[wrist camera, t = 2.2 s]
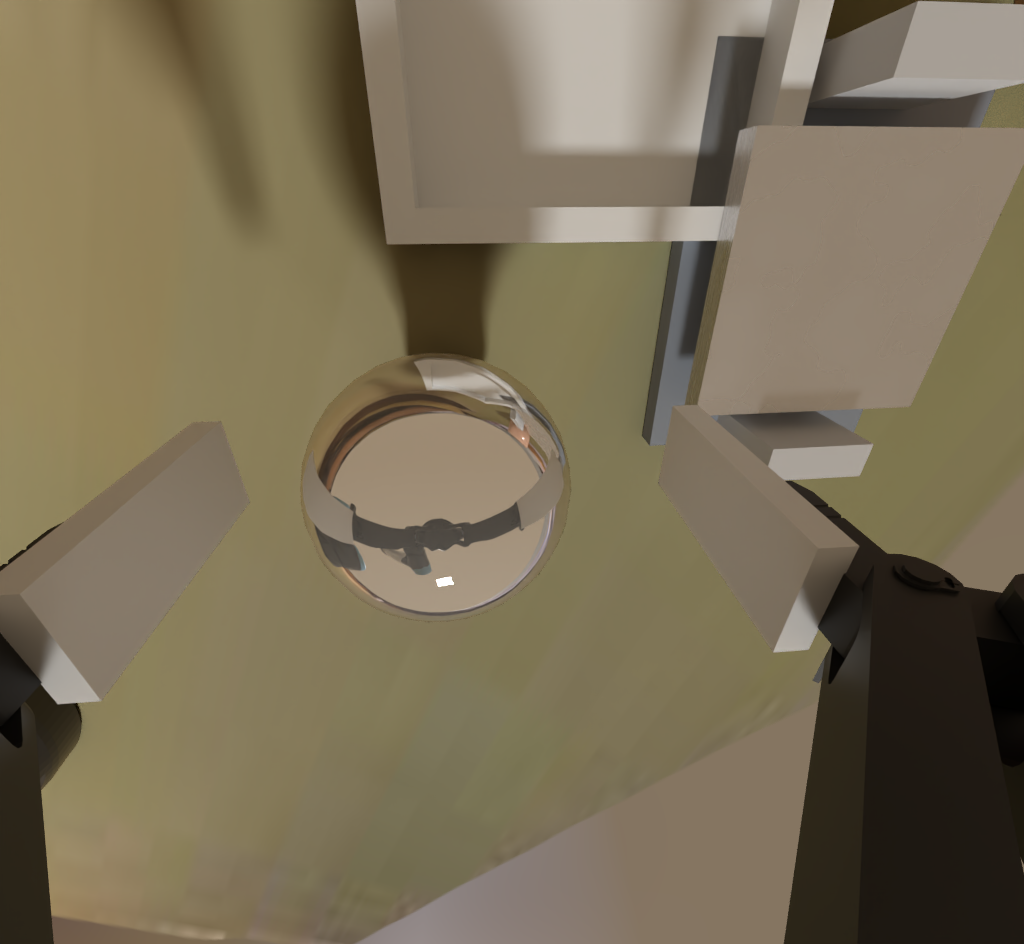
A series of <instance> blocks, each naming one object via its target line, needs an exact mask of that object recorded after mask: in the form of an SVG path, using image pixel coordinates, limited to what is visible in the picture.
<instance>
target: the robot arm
mask: <svg viewBox="0 0 1024 944" xmlns="http://www.w3.org/2000/svg"><path fill="white" fill-rule="evenodd" d="M658 484H659V485H660V487H661V488H662V490H663V491H664V493H665V494H666V496H667V497H668V498H669V500H670V501H671V503H672V504H673V506H674V507H675V509H676V510H677V512H678V513H679V515H680V516H681V518H682V519H683V521H684V522H685V523H686V525H687V526H688V528H689V529H690V531H691V532H692V534H693V535H694V537H695V538H696V540H697V541H698V543H699V544H700V546H701V547H702V548H703V550H704V551H705V553H706V554H707V556H708V557H709V559H710V560H711V562H712V563H713V565H714V566H715V568H716V569H717V571H718V572H719V574H720V575H721V576H722V578H723V579H724V581H725V582H726V584H727V585H728V587H729V588H730V590H731V591H732V593H733V594H734V596H735V597H736V599H737V600H738V601H739V603H740V604H741V606H742V607H743V609H744V610H745V612H746V613H747V615H748V616H749V618H750V619H751V621H752V622H753V624H754V625H755V626H756V628H757V629H758V631H759V632H760V634H761V635H762V637H763V638H764V640H765V641H766V643H767V644H768V646H769V647H770V649H771V650H772V652H784V651H798V650H809V648H810V645H811V643H812V641H813V639H814V637H815V635H816V633H817V631H818V629H819V630H820V631H821V632H822V633H823V634H824V636H825V637H826V638H827V639H828V640H829V642H830V643H831V646H830V648H829V650H828V652H827V654H826V656H825V658H824V660H823V661H822V663H821V665H820V667H819V669H818V671H817V673H816V675H815V677H814V679H813V681H815V682H817V683H819V682H820V680H821V679H822V682H821V689H820V696H819V703H818V711H817V717H816V724H815V731H814V738H813V745H812V752H811V759H810V766H809V772H808V780H807V786H806V793H805V800H804V808H803V815H802V821H801V828H800V836H799V842H798V849H797V856H796V863H795V870H794V877H793V884H792V892H791V898H790V905H789V912H788V919H787V926H786V933H785V940H784V944H1024V872H1023V867H1022V863H1021V859H1022V861H1023V863H1024V574H1019V575H1015V577H1014V578H1013V579H1012V581H1011V582H1010V583H1009V585H1008V586H1007V587H1006V589H1005V590H1004V591H1003V593H999V592H993V591H987V590H980V589H974V588H968V587H964V586H963V584H962V583H961V582H960V581H958V580H957V579H956V578H955V577H954V576H953V575H951V574H950V573H948V572H947V571H945V570H943V569H942V568H940V567H938V566H936V565H935V564H932V563H929V562H927V561H924V560H922V559H919V558H916V557H912V556H907V555H903V554H887V553H886V552H884V551H883V550H882V549H881V548H880V547H878V546H877V545H876V544H875V543H874V542H872V541H871V540H870V539H869V538H868V537H866V536H865V535H864V534H863V533H862V532H860V531H859V530H858V529H857V528H856V527H854V526H853V525H852V524H851V523H850V522H848V521H847V520H846V519H845V518H841V515H840V514H839V513H838V512H836V511H835V510H834V509H833V508H832V507H828V504H827V503H826V502H824V501H823V500H822V499H821V498H820V497H818V496H817V495H816V494H815V493H814V492H812V491H810V490H808V489H806V488H804V487H802V486H800V485H798V484H796V483H794V482H793V481H784V480H783V479H782V478H781V477H780V476H778V475H777V474H776V473H775V472H774V471H773V470H772V469H770V468H769V467H768V466H767V465H766V464H765V463H763V462H762V461H761V460H760V459H759V458H758V457H757V456H755V455H754V454H753V453H752V452H751V451H750V450H749V449H747V448H746V447H745V446H744V445H743V444H742V443H741V442H739V441H738V440H737V439H736V438H735V437H734V436H733V435H731V434H730V433H729V432H728V431H727V430H726V429H724V428H723V427H722V426H721V425H720V424H719V423H718V422H716V421H715V420H714V419H713V418H712V417H711V416H710V415H708V414H707V413H706V412H705V411H704V410H703V409H702V408H700V407H699V406H698V405H681V406H673V408H672V413H671V418H670V424H669V429H668V434H667V440H666V445H665V450H664V456H663V461H662V466H661V472H660V477H659V482H658ZM249 503H250V501H249V498H248V495H247V493H246V490H245V487H244V484H243V481H242V479H241V476H240V473H239V470H238V468H237V465H236V462H235V459H234V456H233V454H232V451H231V448H230V445H229V442H228V440H227V437H226V434H225V431H224V428H223V426H222V423H221V421H218V422H193V423H191V424H190V425H189V426H187V427H186V428H185V429H184V430H182V431H181V432H180V433H178V434H177V435H176V436H174V437H173V438H172V439H171V440H169V441H168V442H167V443H165V444H164V445H163V446H162V447H160V448H159V449H158V450H156V451H155V452H154V453H153V454H151V455H150V456H149V457H147V458H146V459H145V460H144V461H142V462H141V463H140V464H138V465H137V466H136V467H134V468H133V469H132V470H131V471H129V472H128V473H127V474H125V475H124V476H123V477H122V478H120V479H119V480H118V481H116V482H115V483H114V484H113V485H111V486H110V487H109V488H107V489H106V490H105V491H103V492H102V493H101V494H100V495H98V496H97V497H96V498H94V499H93V500H92V501H91V502H89V503H88V504H87V505H85V506H84V507H83V508H82V509H80V510H79V511H78V512H76V513H75V514H74V515H72V516H71V517H70V518H69V519H67V520H66V521H65V522H63V523H61V524H59V525H57V526H55V527H53V528H51V529H49V530H47V531H46V532H45V533H44V534H42V535H41V536H40V537H38V538H37V539H36V540H34V541H33V542H32V543H30V544H29V545H28V546H27V547H26V548H27V549H26V550H21V551H20V552H19V553H17V554H16V555H15V556H13V557H12V558H11V559H10V560H8V564H3V565H2V566H0V944H54V942H53V930H52V918H51V906H50V894H49V881H48V869H47V857H46V845H45V833H44V821H43V809H42V797H41V790H42V789H43V788H44V787H45V785H46V784H47V783H48V782H49V781H50V780H51V779H52V778H53V776H54V775H55V773H56V772H57V771H58V769H59V768H60V766H61V765H62V764H63V762H64V761H65V759H66V758H67V757H68V755H69V754H70V753H71V751H72V750H73V748H74V747H75V745H76V744H77V742H78V740H79V737H80V734H81V721H80V717H79V714H78V711H77V709H76V707H75V705H74V704H73V703H81V702H95V701H102V699H103V698H104V697H105V695H106V694H107V693H108V691H109V690H110V689H111V687H112V686H113V685H114V683H115V682H116V681H117V679H118V678H119V677H120V675H121V674H122V673H123V671H124V670H125V669H126V667H127V666H128V665H129V663H130V662H131V661H132V659H133V658H134V657H135V655H136V654H137V653H138V651H139V650H140V649H141V647H142V646H143V645H144V643H145V642H146V641H147V639H148V638H149V637H150V635H151V634H152V633H153V631H154V630H155V629H156V627H157V626H158V625H159V623H160V622H161V621H162V619H163V618H164V616H165V615H166V614H167V612H168V611H169V610H170V608H171V607H172V606H173V604H174V603H175V602H176V600H177V599H178V598H179V596H180V595H181V594H182V592H183V591H184V590H185V588H186V587H187V586H188V584H189V583H190V582H191V580H192V579H193V578H194V576H195V575H196V574H197V572H198V571H199V570H200V568H201V567H202V566H203V564H204V563H205V562H206V560H207V559H208V558H209V556H210V555H211V554H212V552H213V551H214V550H215V548H216V547H217V546H218V544H219V543H220V542H221V540H222V539H223V538H224V536H225V535H226V534H227V532H228V531H229V530H230V528H231V527H232V526H233V524H234V523H235V522H236V520H237V519H238V518H239V516H240V515H241V514H242V512H243V511H244V510H245V508H246V507H247V505H248V504H249Z"/></svg>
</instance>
